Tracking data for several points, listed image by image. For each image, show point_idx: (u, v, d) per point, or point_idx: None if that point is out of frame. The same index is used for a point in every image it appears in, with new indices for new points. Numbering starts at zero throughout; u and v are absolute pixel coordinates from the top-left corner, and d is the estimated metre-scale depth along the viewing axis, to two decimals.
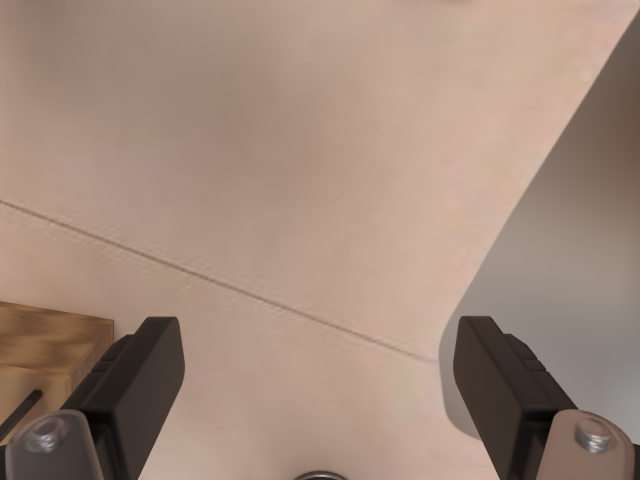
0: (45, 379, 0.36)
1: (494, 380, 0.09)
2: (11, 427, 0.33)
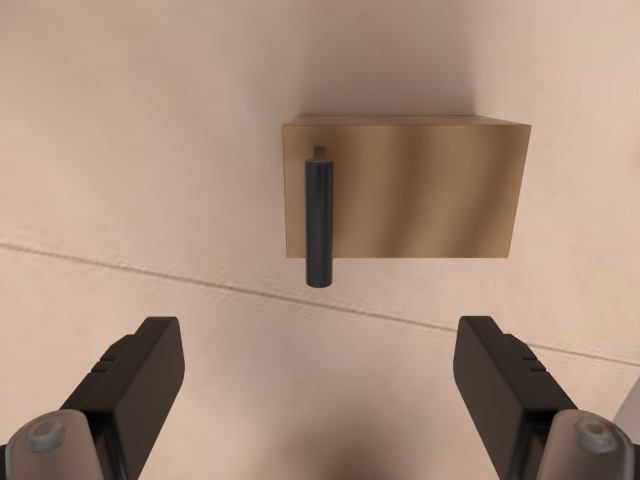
0: None
1: (494, 380, 0.09)
2: None
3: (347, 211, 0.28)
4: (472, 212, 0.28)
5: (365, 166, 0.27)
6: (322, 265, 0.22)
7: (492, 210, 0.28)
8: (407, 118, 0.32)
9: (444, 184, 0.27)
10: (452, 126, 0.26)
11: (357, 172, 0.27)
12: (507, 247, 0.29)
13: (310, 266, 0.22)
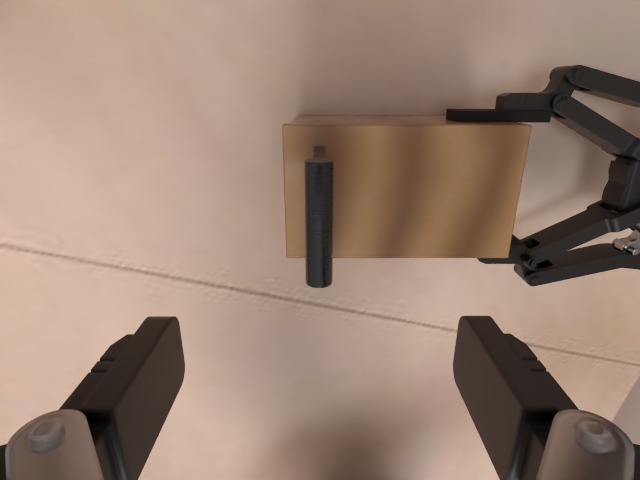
0: None
1: (494, 380, 0.09)
2: None
3: (347, 211, 0.28)
4: (472, 211, 0.28)
5: (365, 166, 0.27)
6: (322, 265, 0.22)
7: (492, 210, 0.28)
8: (407, 118, 0.32)
9: (444, 184, 0.27)
10: (452, 126, 0.26)
11: (357, 172, 0.27)
12: (507, 247, 0.29)
13: (310, 266, 0.22)
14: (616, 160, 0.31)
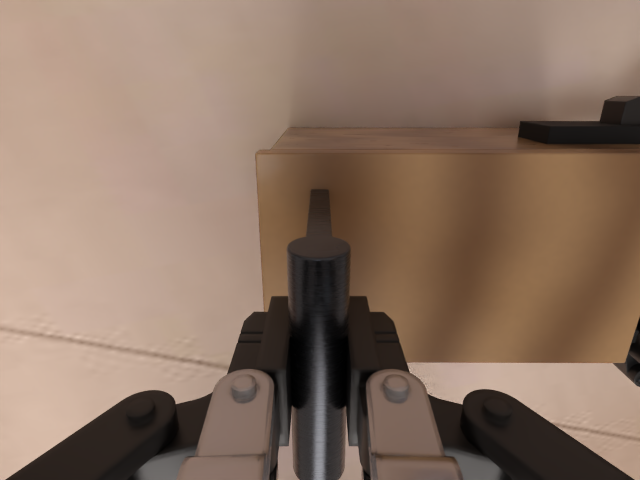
0: None
1: (347, 349, 0.10)
2: None
3: (366, 293, 0.17)
4: (573, 294, 0.17)
5: (398, 221, 0.16)
6: (325, 449, 0.11)
7: (607, 291, 0.17)
8: (456, 135, 0.20)
9: (531, 250, 0.16)
10: (552, 155, 0.15)
11: (384, 231, 0.16)
12: (626, 347, 0.18)
13: (301, 448, 0.11)
14: None
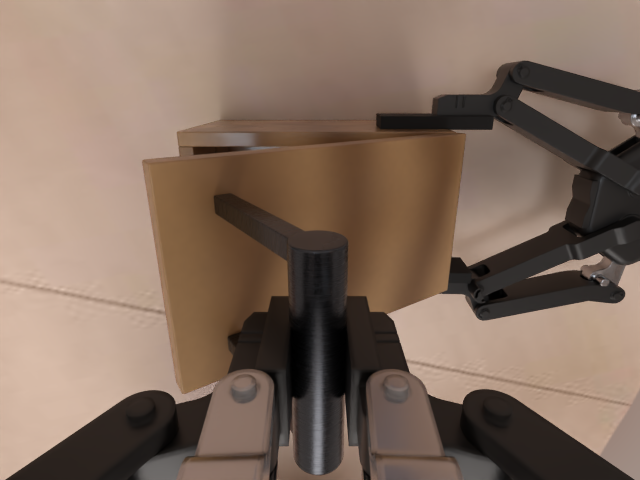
0: None
1: (347, 349, 0.10)
2: None
3: (274, 288, 0.17)
4: (416, 247, 0.22)
5: (295, 214, 0.17)
6: (337, 431, 0.11)
7: (434, 240, 0.22)
8: (333, 124, 0.27)
9: (390, 219, 0.20)
10: (395, 141, 0.19)
11: None
12: (447, 278, 0.24)
13: (315, 442, 0.11)
14: (580, 174, 0.26)
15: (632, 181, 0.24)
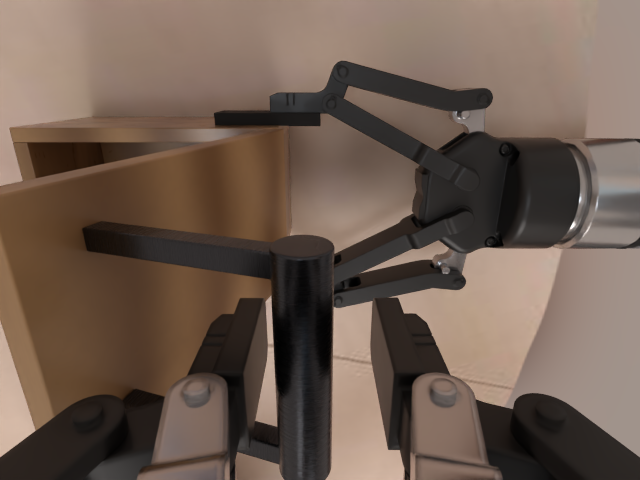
0: None
1: (384, 352, 0.10)
2: None
3: (160, 324, 0.14)
4: None
5: None
6: None
7: (275, 233, 0.23)
8: (187, 120, 0.28)
9: (244, 220, 0.20)
10: (239, 141, 0.18)
11: None
12: None
13: (318, 452, 0.11)
14: (418, 168, 0.28)
15: (454, 174, 0.26)
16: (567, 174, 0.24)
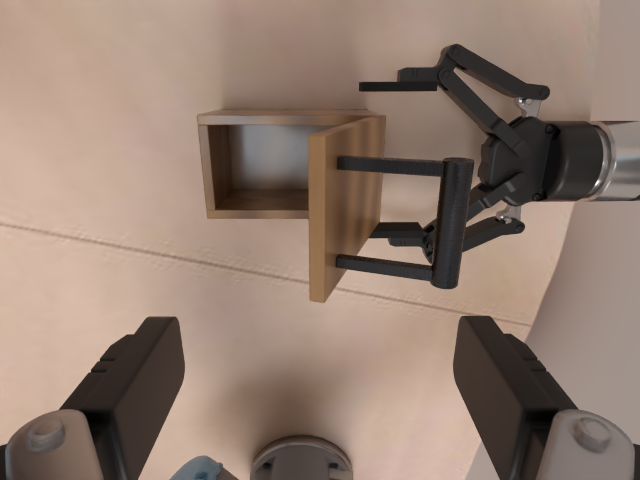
0: (333, 289, 0.24)
1: (494, 380, 0.09)
2: (401, 271, 0.23)
3: (346, 222, 0.26)
4: (374, 191, 0.33)
5: None
6: None
7: (378, 186, 0.34)
8: (302, 111, 0.39)
9: (370, 172, 0.31)
10: (372, 120, 0.29)
11: (350, 177, 0.25)
12: None
13: (456, 267, 0.22)
14: (484, 144, 0.39)
15: (513, 146, 0.36)
16: (594, 144, 0.35)
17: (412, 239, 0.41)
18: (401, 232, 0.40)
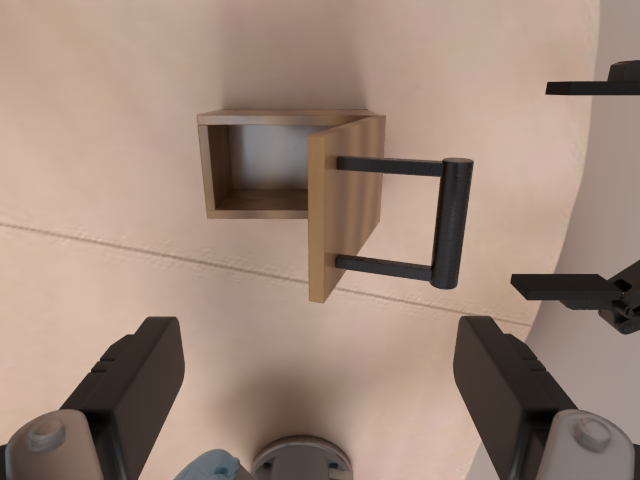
0: None
1: (494, 380, 0.09)
2: (400, 272, 0.23)
3: (346, 222, 0.25)
4: (374, 191, 0.33)
5: None
6: None
7: (378, 186, 0.34)
8: (302, 111, 0.39)
9: (370, 172, 0.31)
10: (372, 121, 0.29)
11: (349, 177, 0.25)
12: (379, 212, 0.37)
13: (455, 268, 0.22)
14: None
15: None
16: None
17: (599, 300, 0.29)
18: (590, 292, 0.28)
